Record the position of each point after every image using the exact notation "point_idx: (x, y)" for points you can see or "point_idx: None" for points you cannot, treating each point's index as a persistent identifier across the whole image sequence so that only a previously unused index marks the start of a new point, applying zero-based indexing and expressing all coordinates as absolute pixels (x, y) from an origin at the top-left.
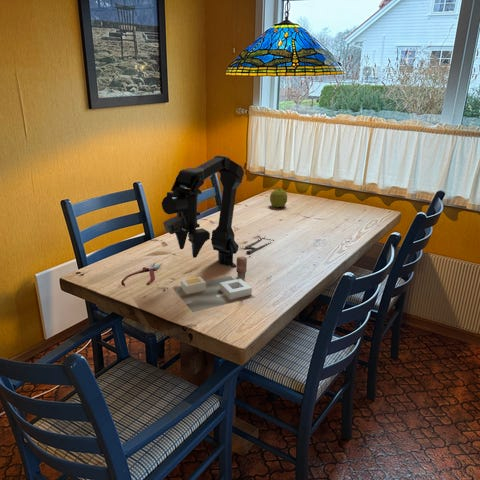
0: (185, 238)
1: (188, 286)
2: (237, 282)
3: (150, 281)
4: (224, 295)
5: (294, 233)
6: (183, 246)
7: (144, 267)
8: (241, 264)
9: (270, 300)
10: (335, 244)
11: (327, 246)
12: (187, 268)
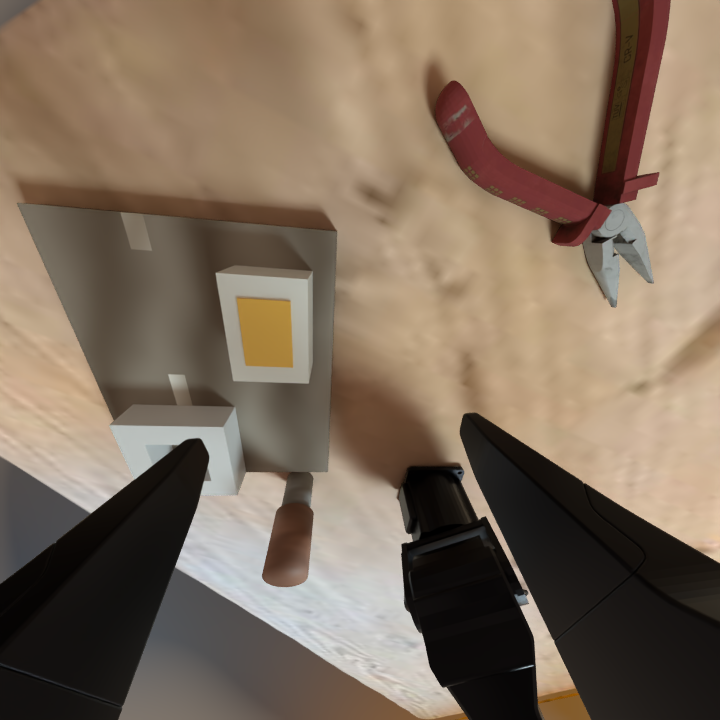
0: (521, 561)
1: (219, 285)
2: (212, 475)
3: (468, 127)
4: (174, 400)
5: None
6: (469, 455)
7: (651, 181)
8: (269, 549)
9: None
10: (375, 654)
11: (375, 646)
12: (497, 381)
